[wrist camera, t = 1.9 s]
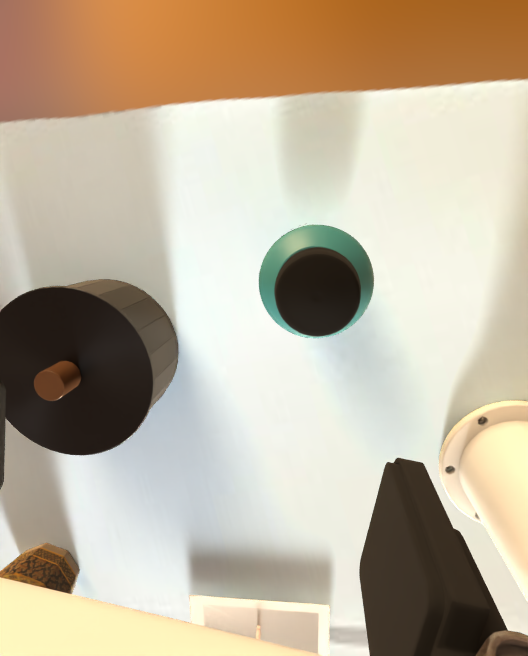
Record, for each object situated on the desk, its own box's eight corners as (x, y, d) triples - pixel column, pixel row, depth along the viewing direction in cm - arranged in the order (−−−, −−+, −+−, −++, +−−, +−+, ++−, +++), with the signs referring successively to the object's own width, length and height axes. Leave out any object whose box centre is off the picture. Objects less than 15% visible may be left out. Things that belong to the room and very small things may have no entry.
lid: (144, 278, 34) (125, 284, 30) (168, 447, 37) (153, 470, 33) (-24, 290, 35) (-61, 297, 32) (12, 450, 38) (-18, 473, 35)
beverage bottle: (270, 229, 38) (229, 234, 19) (346, 216, 38) (384, 208, 18) (282, 301, 40) (253, 375, 21) (355, 291, 39) (399, 357, 20)
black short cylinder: (168, 274, 40) (137, 285, 33) (186, 409, 43) (160, 446, 36) (34, 283, 42) (-24, 296, 35) (59, 413, 45) (11, 449, 38)
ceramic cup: (3, 585, 51) (-70, 669, 41) (19, 516, 49) (-54, 589, 39) (106, 625, 51) (58, 719, 41) (128, 558, 48) (82, 642, 39)
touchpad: (191, 586, 48) (186, 603, 46) (329, 596, 47) (330, 614, 44) (195, 644, 50) (190, 662, 48) (328, 655, 48) (329, 675, 46)
